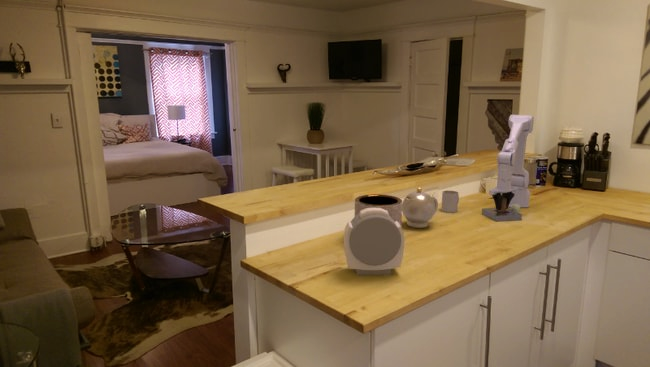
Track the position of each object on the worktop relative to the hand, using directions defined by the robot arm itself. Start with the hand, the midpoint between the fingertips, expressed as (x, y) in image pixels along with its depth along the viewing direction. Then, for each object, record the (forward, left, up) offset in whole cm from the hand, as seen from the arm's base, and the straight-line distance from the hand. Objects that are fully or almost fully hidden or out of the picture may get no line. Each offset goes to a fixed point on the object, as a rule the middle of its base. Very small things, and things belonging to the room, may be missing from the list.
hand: (501, 209), depth 196 cm
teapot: (+40, +5, -4) cm, 41 cm away
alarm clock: (+73, +47, -4) cm, 87 cm away
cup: (+17, -14, -4) cm, 22 cm away
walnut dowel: (0, 0, -3) cm, 3 cm away
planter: (+63, +19, -4) cm, 66 cm away
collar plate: (0, 0, -4) cm, 4 cm away
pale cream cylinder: (-9, -4, -4) cm, 11 cm away
